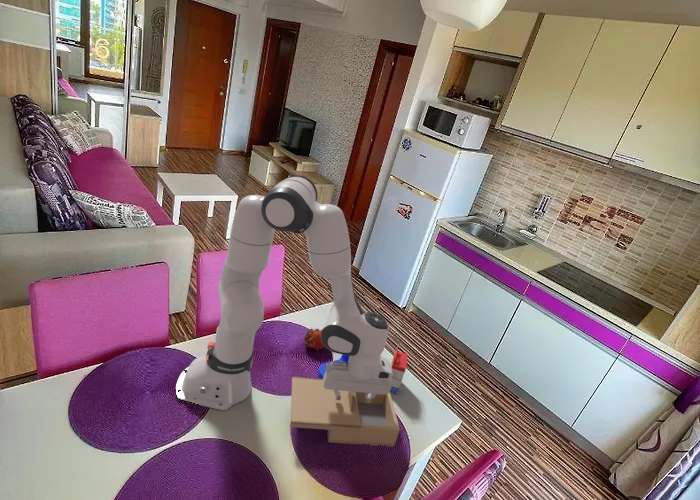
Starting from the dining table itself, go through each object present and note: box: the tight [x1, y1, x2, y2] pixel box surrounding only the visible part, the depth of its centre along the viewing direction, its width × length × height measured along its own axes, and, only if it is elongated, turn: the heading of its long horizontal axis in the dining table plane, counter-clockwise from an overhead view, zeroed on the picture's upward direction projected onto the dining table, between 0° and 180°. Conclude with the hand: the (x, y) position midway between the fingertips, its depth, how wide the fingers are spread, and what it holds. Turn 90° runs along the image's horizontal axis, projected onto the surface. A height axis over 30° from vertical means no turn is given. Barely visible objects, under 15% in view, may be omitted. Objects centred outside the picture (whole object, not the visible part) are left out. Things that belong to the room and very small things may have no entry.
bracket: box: [317, 354, 349, 379], centre depth 143 cm, size 18×8×9 cm, turn 124°
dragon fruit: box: [303, 328, 326, 352], centre depth 153 cm, size 8×8×12 cm
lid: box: [289, 376, 361, 432], centre depth 120 cm, size 20×18×5 cm
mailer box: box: [327, 392, 400, 447], centre depth 124 cm, size 20×16×7 cm
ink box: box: [390, 344, 409, 395], centre depth 142 cm, size 8×5×15 cm, turn 168°
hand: (351, 399), depth 121 cm, fingers open, 8 cm apart
